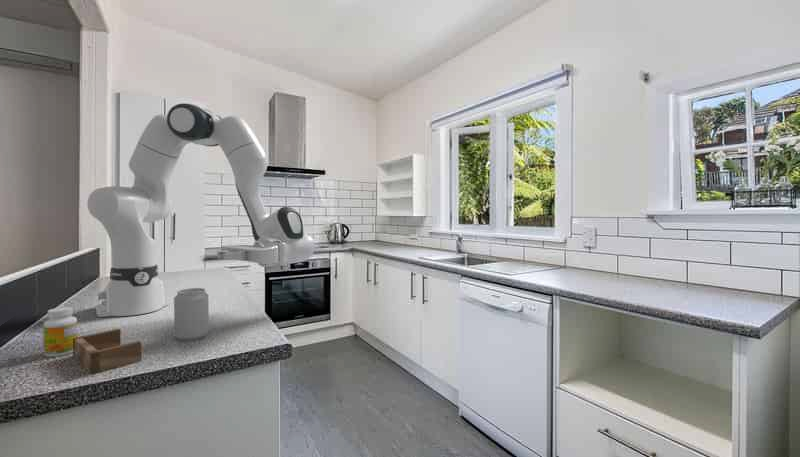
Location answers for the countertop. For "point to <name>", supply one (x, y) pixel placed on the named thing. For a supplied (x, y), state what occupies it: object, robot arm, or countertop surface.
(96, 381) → the countertop surface
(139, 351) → the corral
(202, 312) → the can
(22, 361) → the countertop surface
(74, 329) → the supplement bottle
